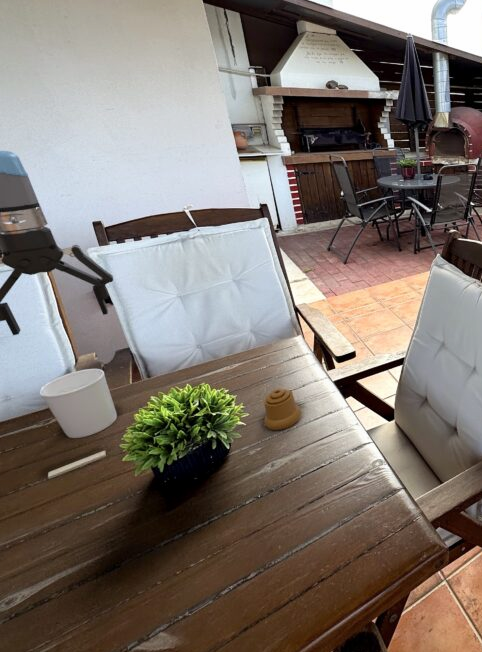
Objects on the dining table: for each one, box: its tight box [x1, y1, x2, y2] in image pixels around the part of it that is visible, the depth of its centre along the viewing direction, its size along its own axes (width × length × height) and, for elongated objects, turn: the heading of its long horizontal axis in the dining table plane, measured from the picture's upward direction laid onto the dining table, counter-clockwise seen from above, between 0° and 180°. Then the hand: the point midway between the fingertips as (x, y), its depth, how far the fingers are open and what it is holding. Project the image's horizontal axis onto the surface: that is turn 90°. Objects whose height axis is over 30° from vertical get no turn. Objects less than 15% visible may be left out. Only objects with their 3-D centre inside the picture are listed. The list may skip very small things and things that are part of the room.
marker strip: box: [47, 450, 107, 480], centre depth 80 cm, size 8×2×1 cm, turn 135°
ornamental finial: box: [263, 388, 302, 431], centre depth 91 cm, size 8×8×8 cm
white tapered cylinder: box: [38, 368, 118, 439], centre depth 89 cm, size 10×10×12 cm
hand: (63, 322), depth 89 cm, fingers open, 13 cm apart
